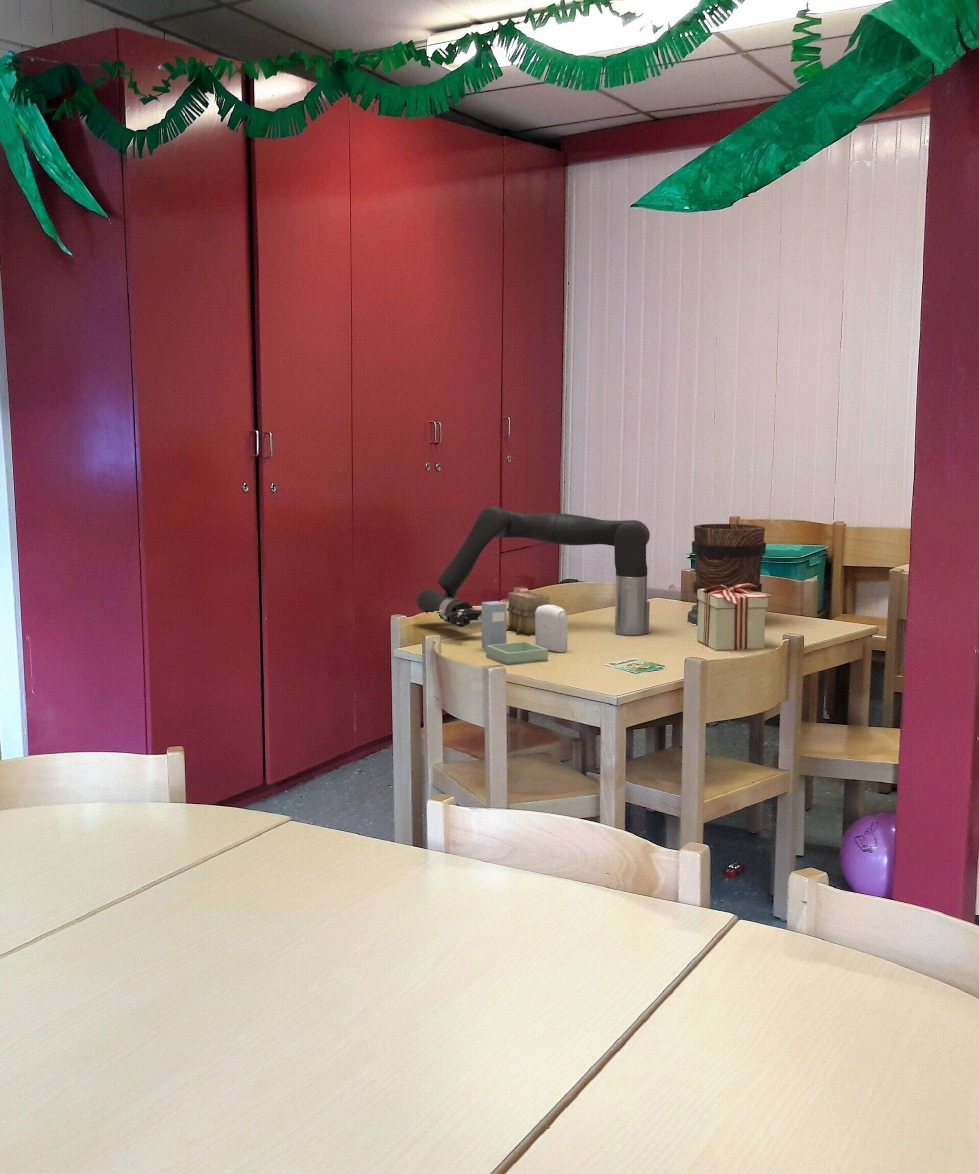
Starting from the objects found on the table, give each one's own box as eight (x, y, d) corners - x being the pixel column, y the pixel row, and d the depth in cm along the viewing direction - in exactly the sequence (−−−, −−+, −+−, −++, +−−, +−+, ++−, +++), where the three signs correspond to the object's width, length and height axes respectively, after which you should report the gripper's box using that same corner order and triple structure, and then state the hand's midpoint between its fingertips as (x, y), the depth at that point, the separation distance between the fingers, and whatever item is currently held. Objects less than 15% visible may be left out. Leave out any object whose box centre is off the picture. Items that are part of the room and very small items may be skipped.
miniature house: (525, 638, 313) (525, 599, 311) (502, 630, 325) (502, 592, 323) (569, 633, 320) (569, 595, 318) (545, 626, 332) (545, 589, 330)
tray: (525, 652, 292) (525, 641, 292) (547, 660, 282) (547, 649, 281) (486, 656, 287) (486, 645, 286) (507, 665, 276) (507, 653, 276)
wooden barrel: (674, 624, 334) (677, 527, 329) (714, 611, 357) (716, 521, 353) (747, 632, 320) (751, 531, 316) (783, 618, 344) (787, 524, 340)
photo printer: (532, 647, 298) (532, 603, 297) (544, 645, 301) (544, 602, 299) (558, 653, 291) (558, 608, 289) (569, 651, 293) (570, 606, 291)
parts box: (497, 647, 299) (497, 601, 297) (506, 650, 294) (506, 603, 293) (481, 648, 297) (481, 602, 295) (490, 652, 292) (490, 605, 290)
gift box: (722, 654, 290) (724, 590, 287) (691, 641, 307) (693, 581, 305) (779, 650, 294) (781, 588, 292) (745, 638, 312) (747, 579, 309)
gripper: (433, 601, 313) (457, 609, 298) (477, 597, 319) (503, 605, 305) (434, 626, 314) (457, 635, 299) (478, 622, 320) (503, 631, 306)
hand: (480, 620), depth 302 cm, fingers open, 8 cm apart
